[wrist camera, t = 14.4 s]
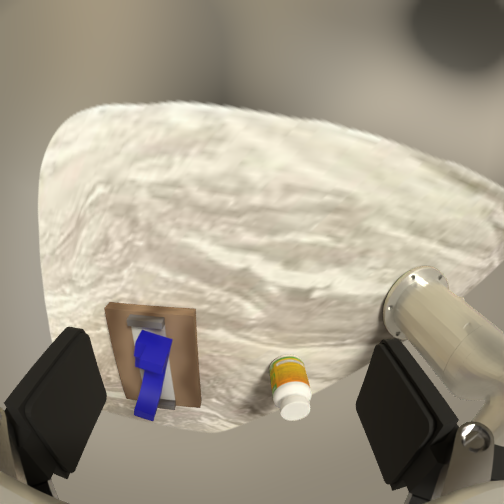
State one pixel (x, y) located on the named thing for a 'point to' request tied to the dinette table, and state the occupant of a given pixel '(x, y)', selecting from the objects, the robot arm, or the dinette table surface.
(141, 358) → the blue curved piece
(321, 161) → the dinette table surface
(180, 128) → the dinette table surface
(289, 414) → the supplement bottle
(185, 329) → the rail board
